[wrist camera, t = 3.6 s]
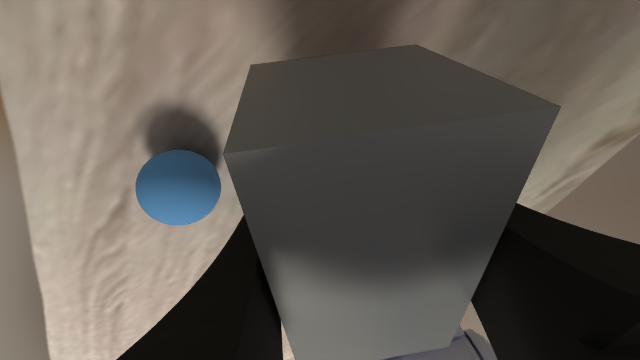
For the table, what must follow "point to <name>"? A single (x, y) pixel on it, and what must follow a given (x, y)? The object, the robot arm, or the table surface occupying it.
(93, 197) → the table surface
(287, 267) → the grey rectangular box
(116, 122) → the table surface
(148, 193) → the ball
